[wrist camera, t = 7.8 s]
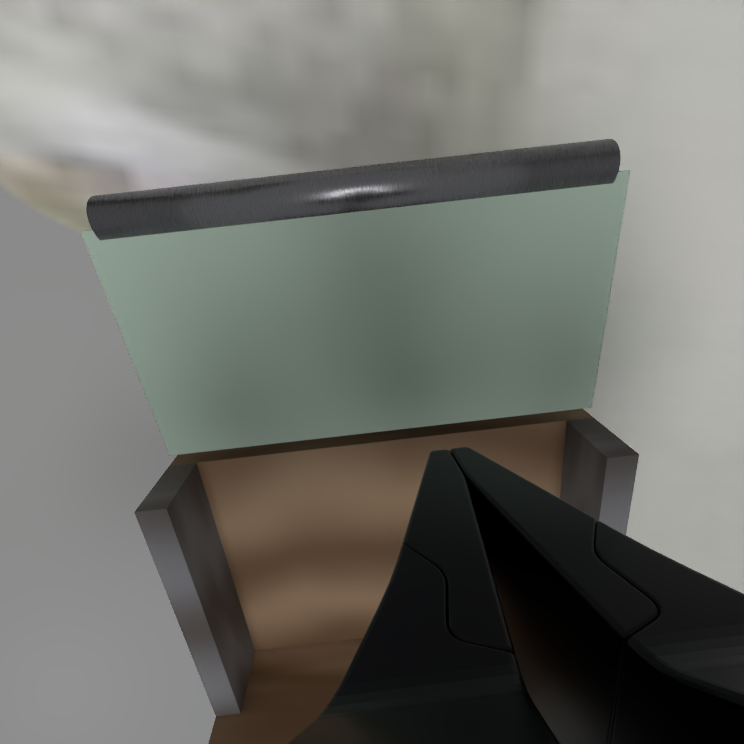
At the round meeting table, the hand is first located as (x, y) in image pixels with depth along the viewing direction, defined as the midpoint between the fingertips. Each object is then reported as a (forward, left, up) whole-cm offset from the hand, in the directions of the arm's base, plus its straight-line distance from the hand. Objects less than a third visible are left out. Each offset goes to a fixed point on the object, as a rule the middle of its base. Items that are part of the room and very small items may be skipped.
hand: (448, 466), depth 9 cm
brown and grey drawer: (-11, +1, -10) cm, 15 cm away
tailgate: (-3, +1, -8) cm, 9 cm away
